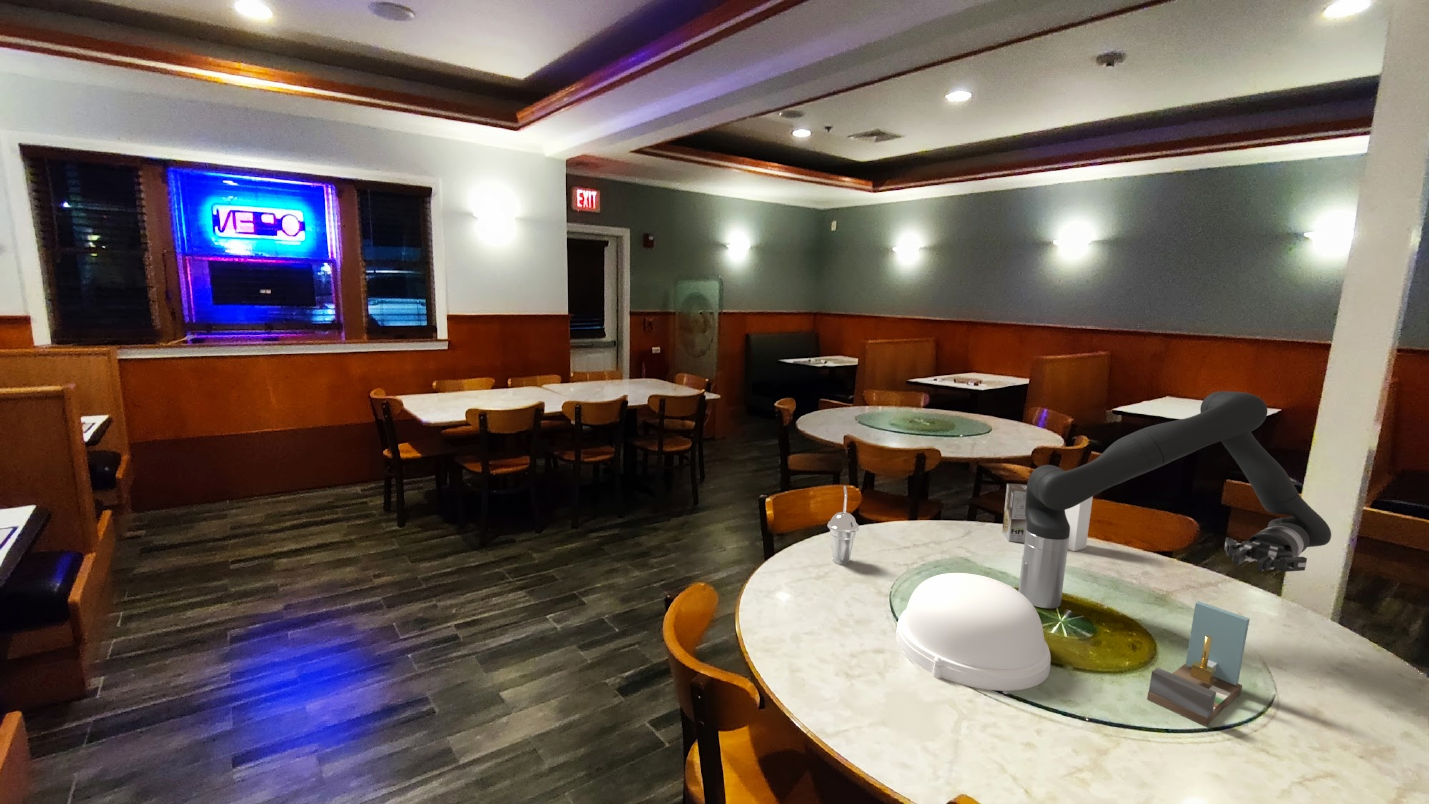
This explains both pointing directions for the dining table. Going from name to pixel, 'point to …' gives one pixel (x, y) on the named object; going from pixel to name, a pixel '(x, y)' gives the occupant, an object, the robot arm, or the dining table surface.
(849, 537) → the cup with straw
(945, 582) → the dome cover
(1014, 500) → the coffee box
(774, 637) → the dining table surface
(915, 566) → the dining table surface
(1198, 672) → the gold upright bar
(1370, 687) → the dining table surface
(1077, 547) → the milk
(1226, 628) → the blue-grey rectangular panel
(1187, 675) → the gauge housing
